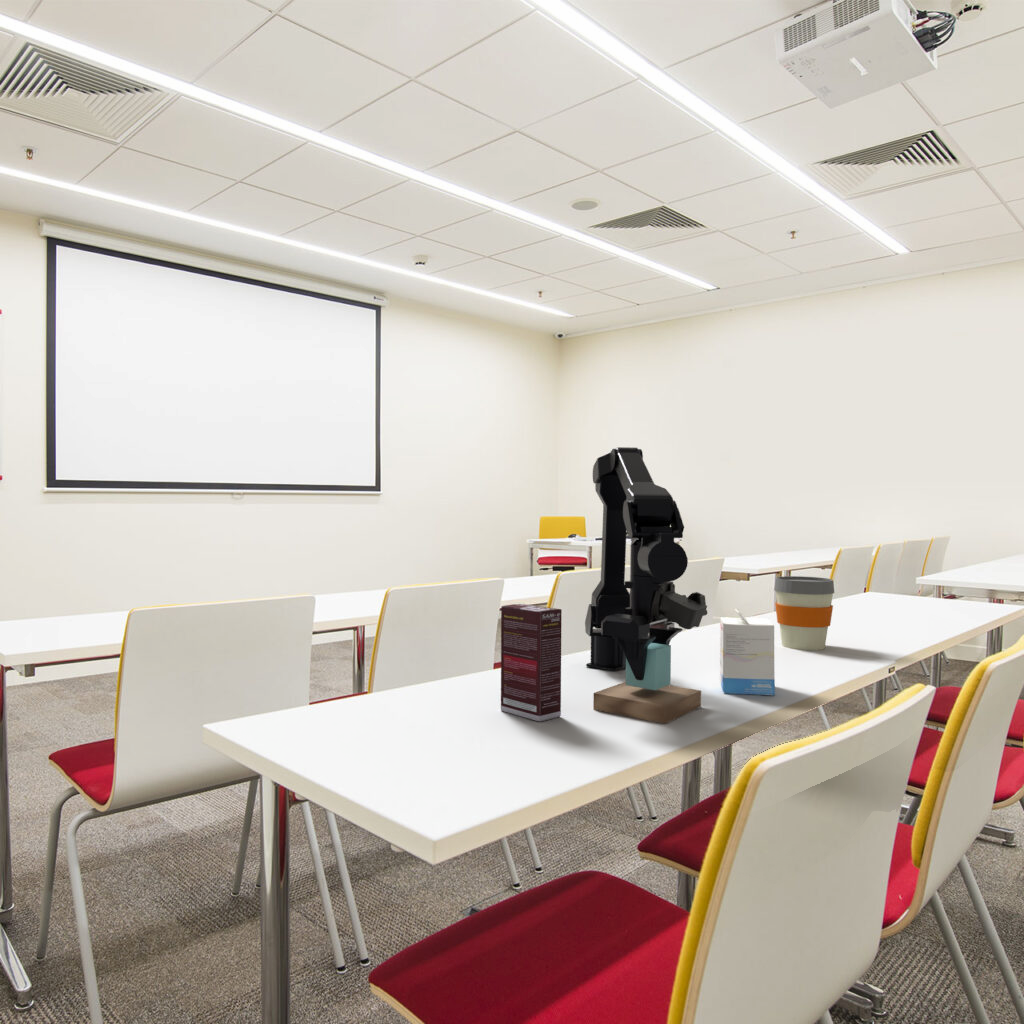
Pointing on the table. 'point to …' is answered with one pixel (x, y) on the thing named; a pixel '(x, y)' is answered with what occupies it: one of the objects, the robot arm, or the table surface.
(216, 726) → the table surface
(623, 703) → the base
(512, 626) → the supplement box
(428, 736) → the table surface
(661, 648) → the block
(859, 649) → the table surface
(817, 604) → the reusable coffee cup
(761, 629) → the ink box
